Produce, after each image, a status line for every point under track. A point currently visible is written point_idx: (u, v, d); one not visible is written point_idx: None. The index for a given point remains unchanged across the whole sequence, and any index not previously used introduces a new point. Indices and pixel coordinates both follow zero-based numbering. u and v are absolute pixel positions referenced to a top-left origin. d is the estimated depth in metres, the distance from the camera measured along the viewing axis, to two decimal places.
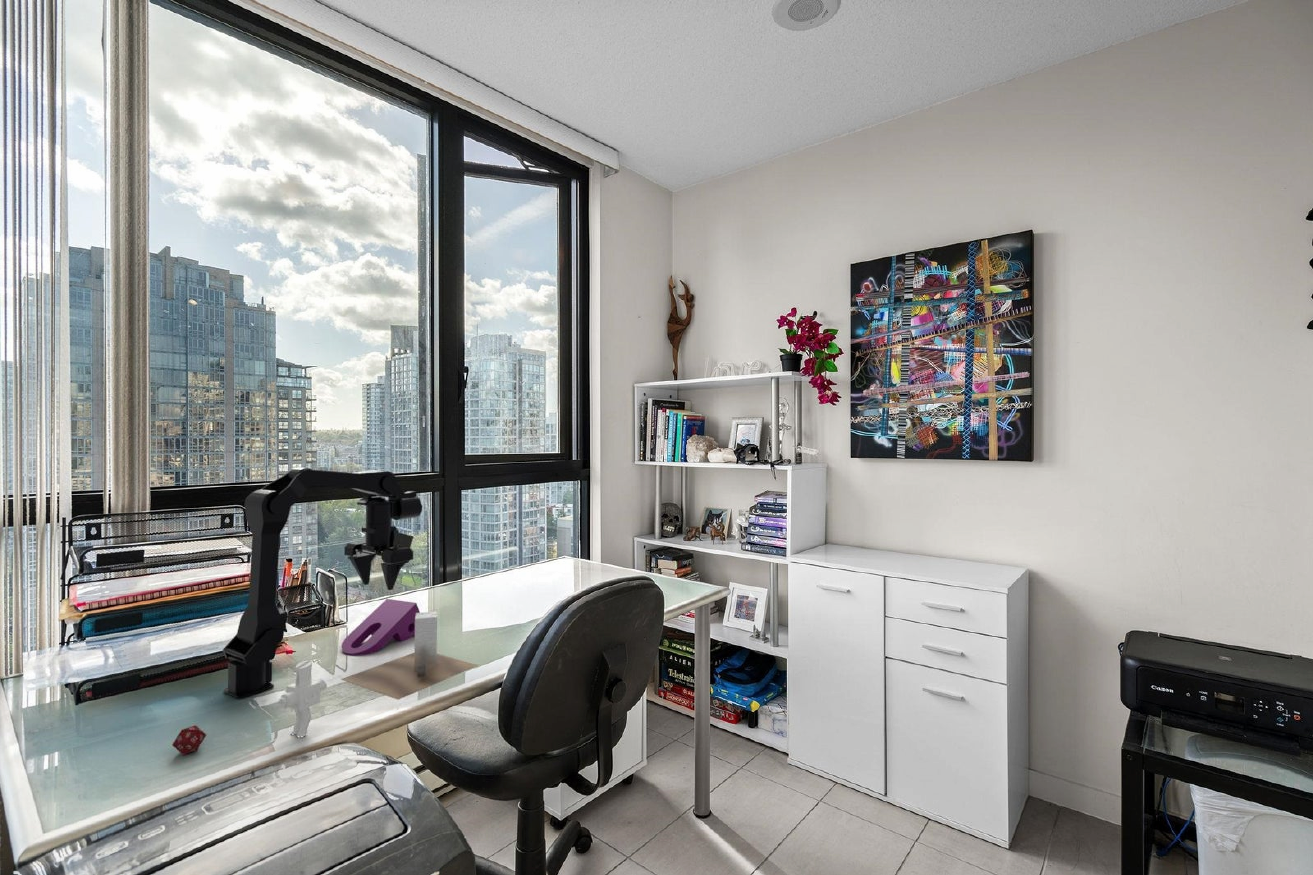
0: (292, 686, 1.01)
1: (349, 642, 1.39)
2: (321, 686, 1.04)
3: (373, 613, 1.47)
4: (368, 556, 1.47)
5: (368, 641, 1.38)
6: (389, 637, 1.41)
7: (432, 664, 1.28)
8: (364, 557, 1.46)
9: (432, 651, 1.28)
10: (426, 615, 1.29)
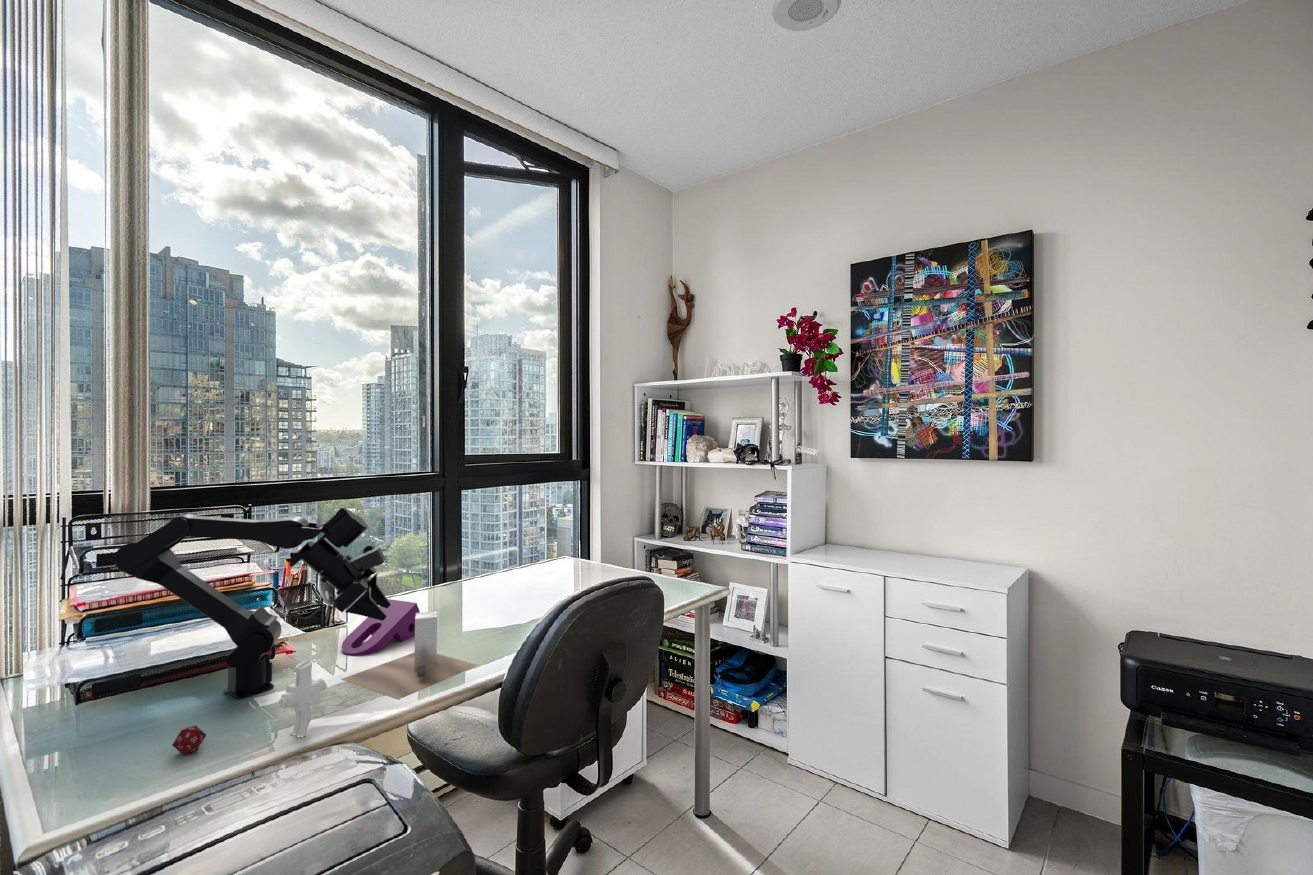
0: (292, 686, 1.01)
1: (349, 642, 1.39)
2: (321, 686, 1.04)
3: None
4: (369, 583, 1.31)
5: (368, 641, 1.38)
6: (389, 637, 1.41)
7: (432, 664, 1.28)
8: None
9: (432, 651, 1.28)
10: (426, 615, 1.29)
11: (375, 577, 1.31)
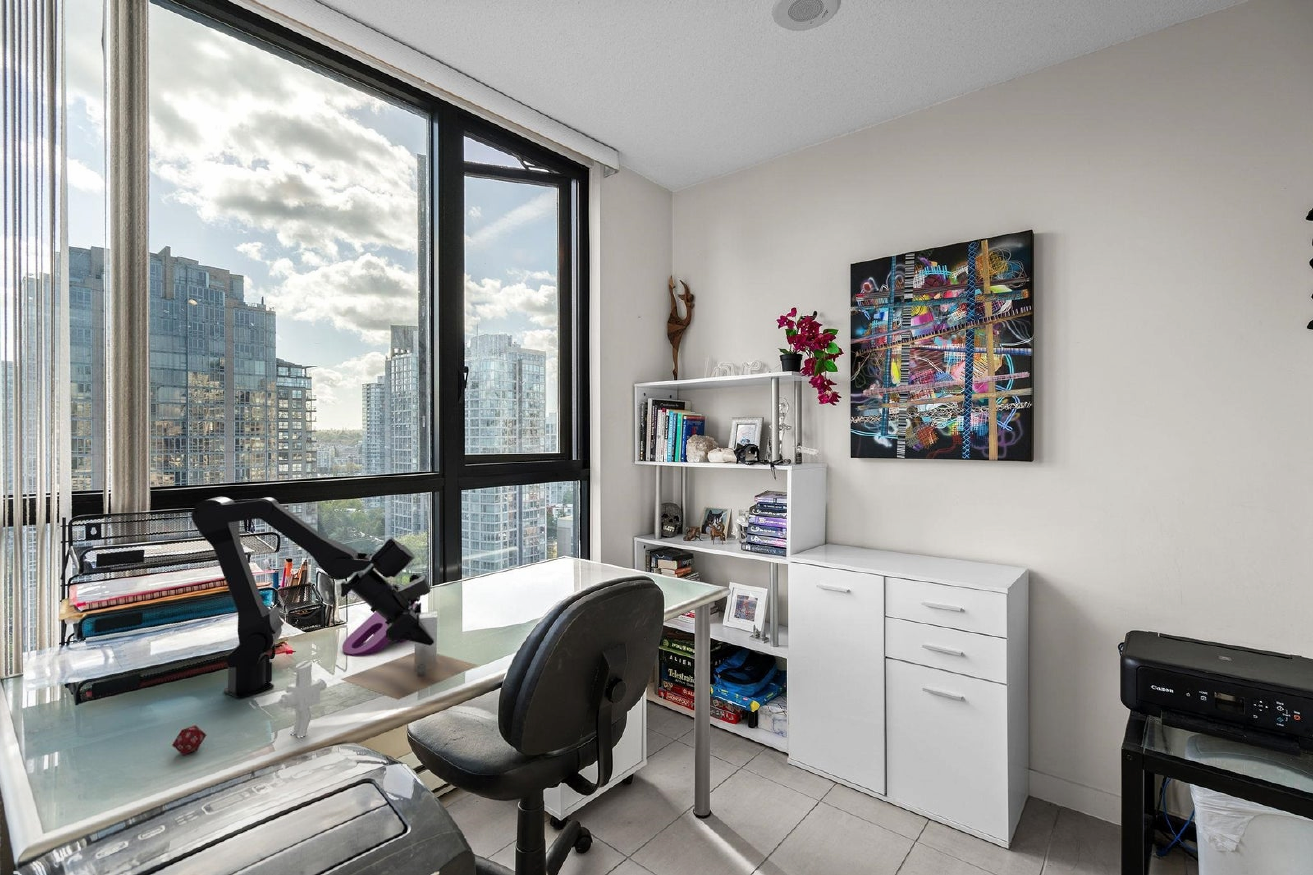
0: (292, 686, 1.01)
1: (350, 642, 1.38)
2: (321, 686, 1.04)
3: (375, 614, 1.47)
4: None
5: (368, 641, 1.38)
6: None
7: (432, 664, 1.28)
8: None
9: (432, 651, 1.28)
10: (426, 615, 1.29)
11: (419, 607, 1.32)
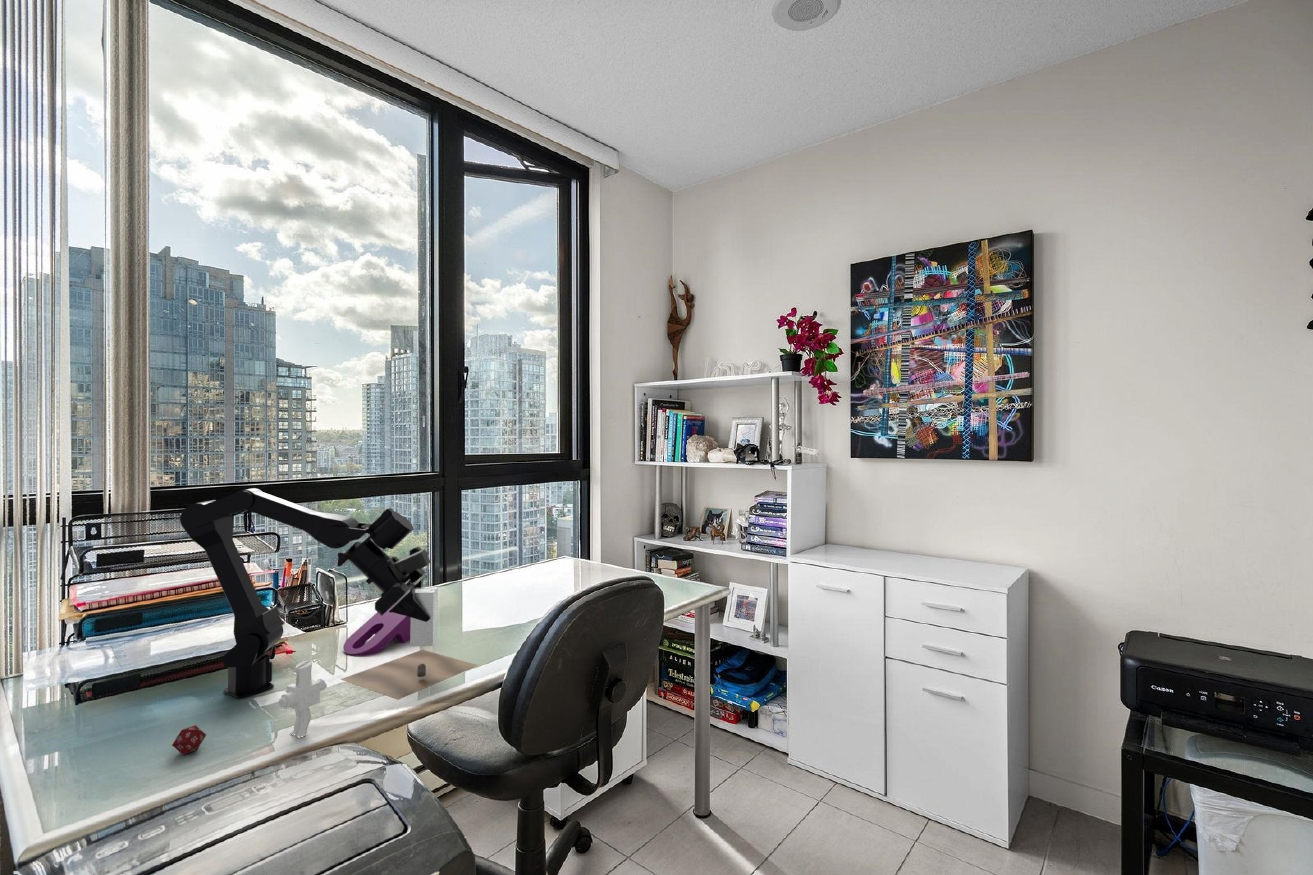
0: (292, 686, 1.01)
1: (351, 643, 1.38)
2: (321, 686, 1.04)
3: (377, 614, 1.47)
4: (414, 588, 1.27)
5: (369, 642, 1.38)
6: (390, 638, 1.40)
7: (428, 642, 1.22)
8: None
9: (428, 628, 1.22)
10: (423, 590, 1.24)
11: (420, 582, 1.27)
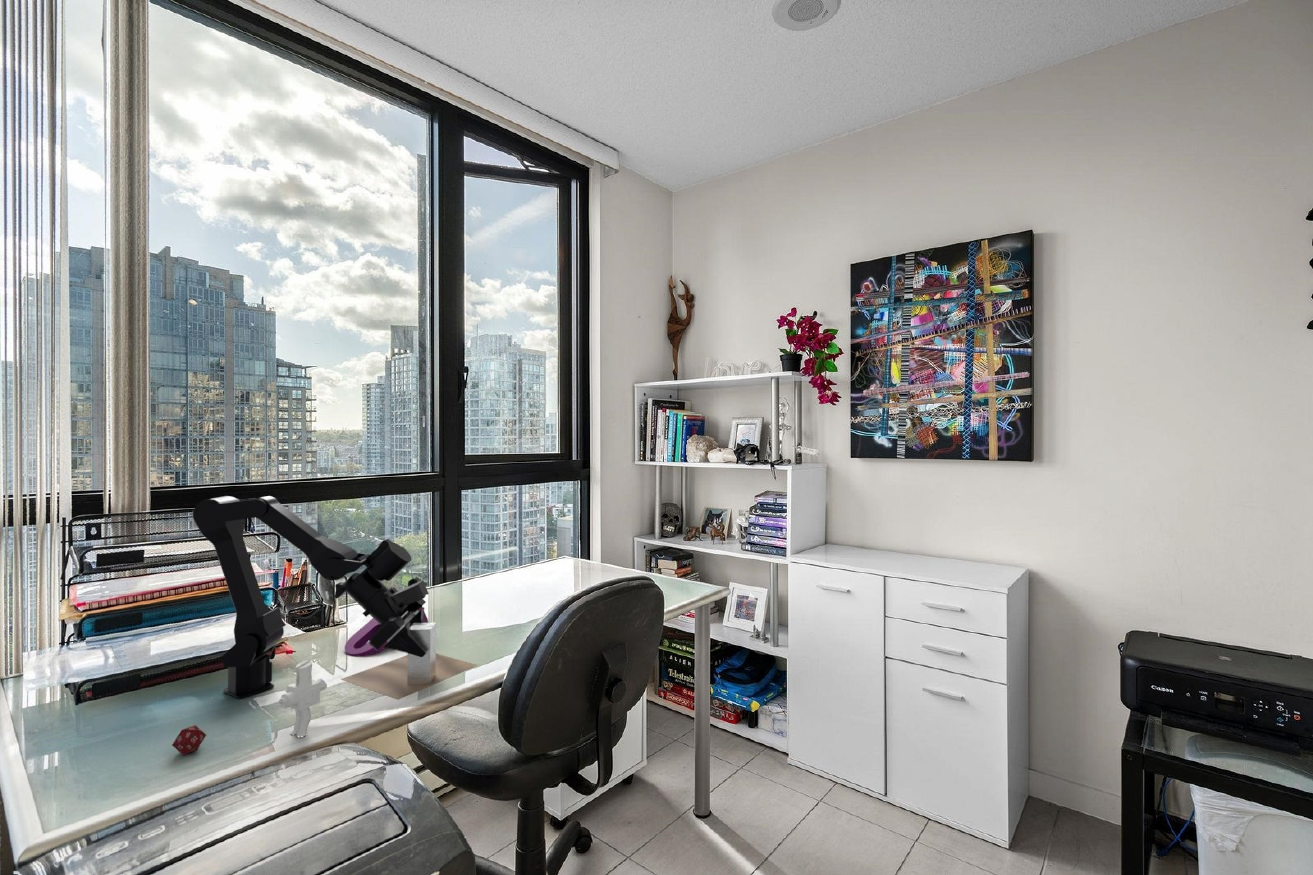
0: (292, 686, 1.01)
1: (352, 643, 1.38)
2: (321, 686, 1.04)
3: None
4: (414, 618, 1.26)
5: None
6: None
7: (425, 679, 1.20)
8: (410, 622, 1.26)
9: (425, 665, 1.20)
10: (421, 627, 1.22)
11: (420, 612, 1.26)
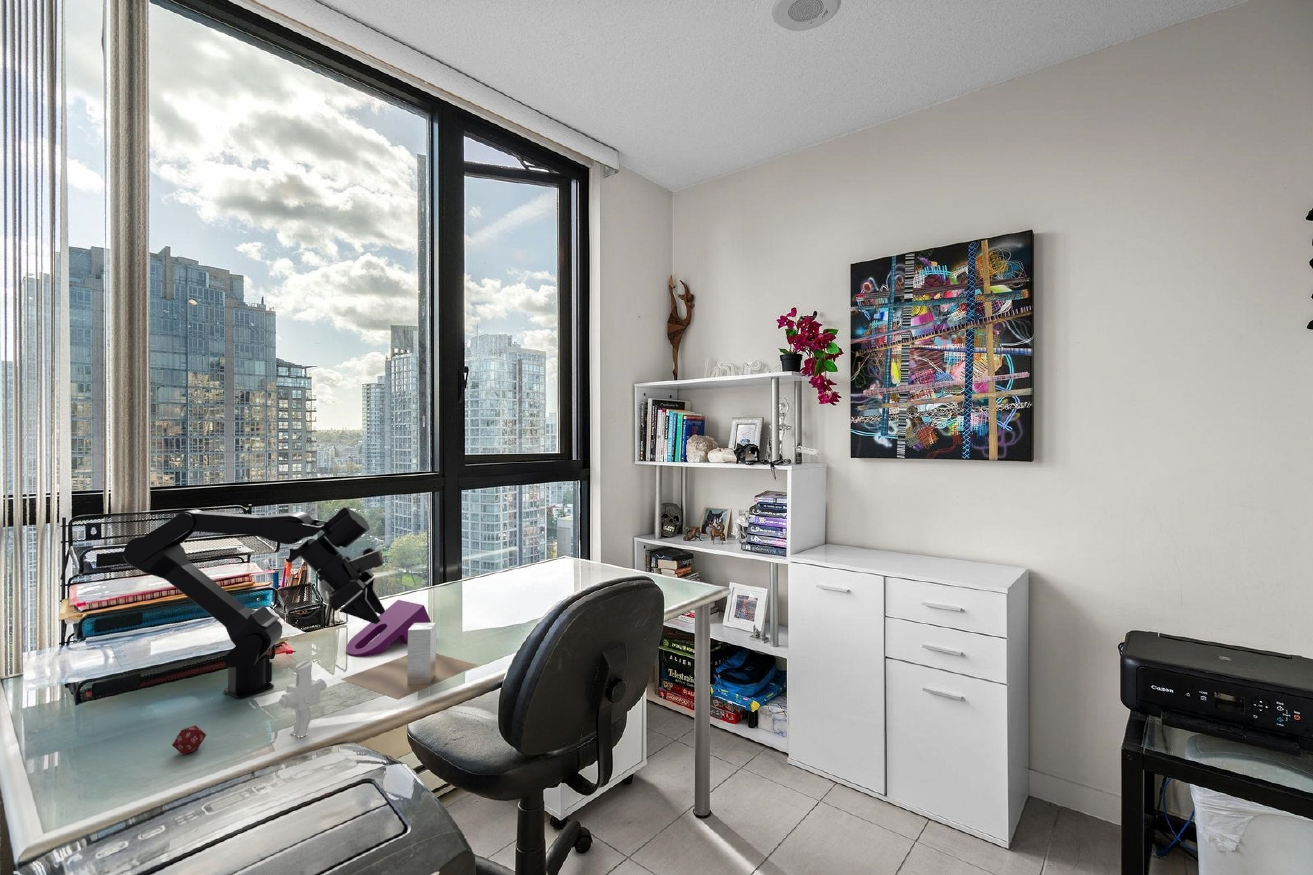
0: (292, 686, 1.01)
1: (354, 643, 1.38)
2: (321, 686, 1.04)
3: (382, 614, 1.47)
4: (365, 587, 1.29)
5: (371, 642, 1.37)
6: (393, 639, 1.39)
7: (425, 679, 1.20)
8: (361, 591, 1.28)
9: (426, 665, 1.20)
10: (421, 627, 1.22)
11: (372, 581, 1.29)
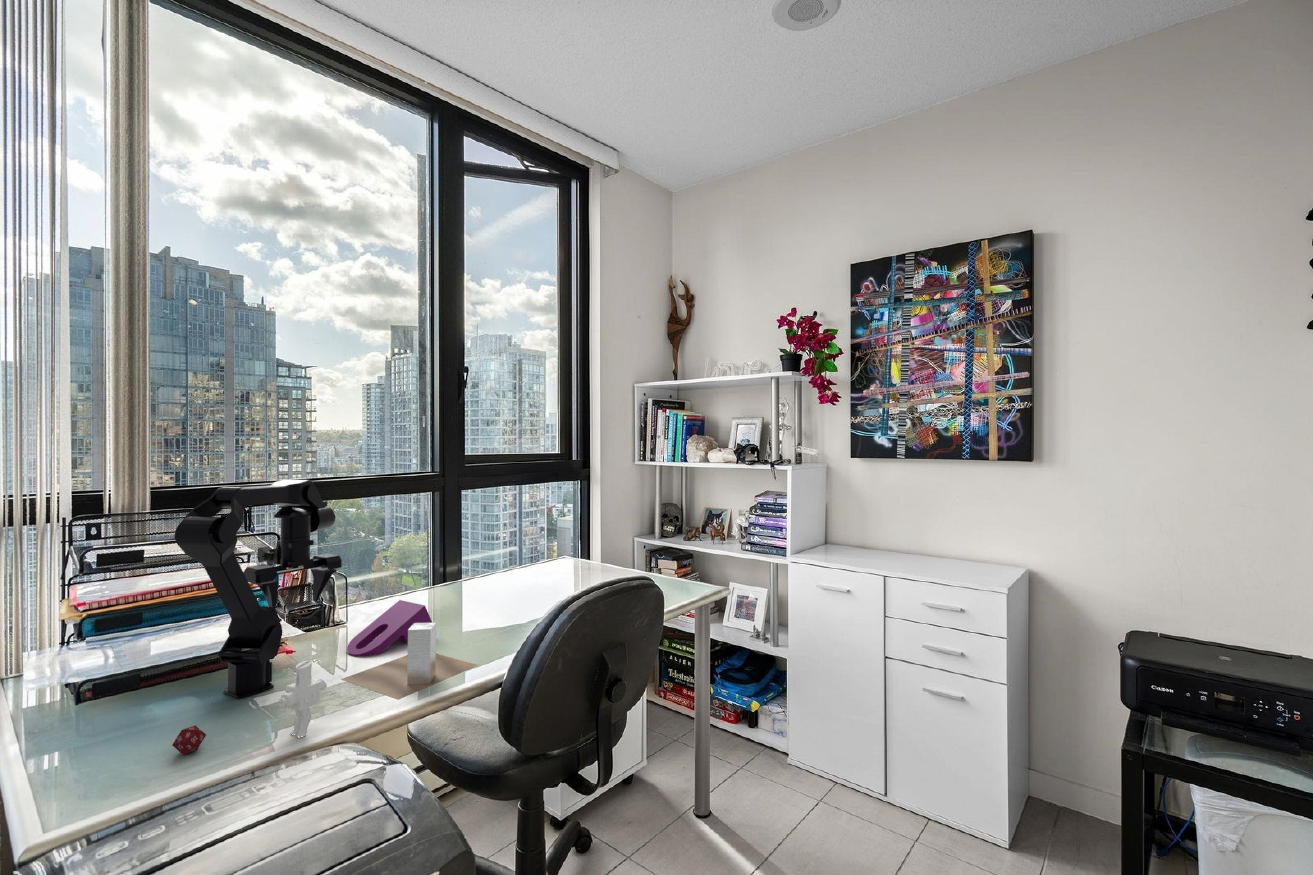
0: (292, 686, 1.01)
1: (355, 643, 1.38)
2: (321, 686, 1.04)
3: (384, 614, 1.47)
4: None
5: (372, 642, 1.37)
6: (393, 639, 1.39)
7: (425, 679, 1.20)
8: None
9: (426, 665, 1.20)
10: (421, 627, 1.22)
11: None
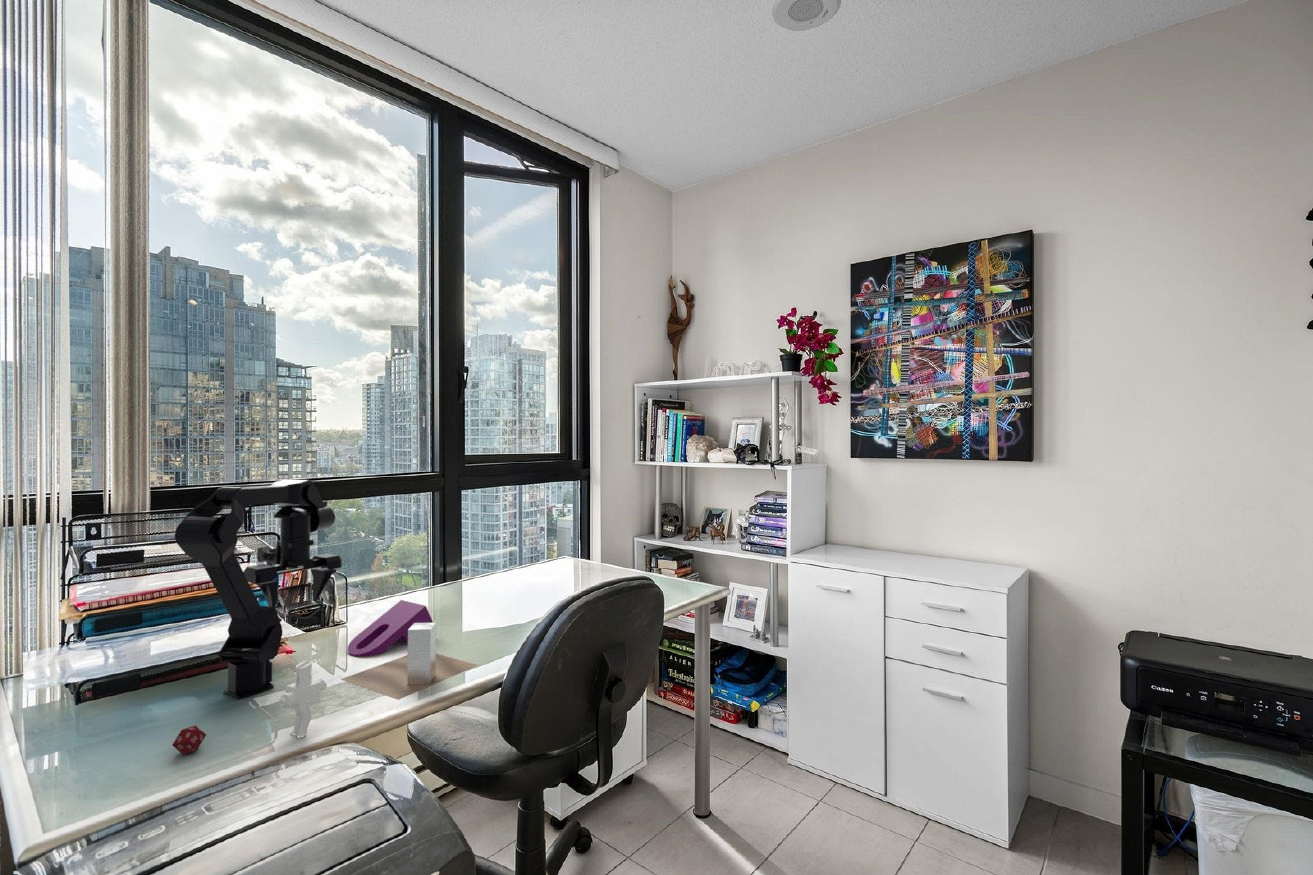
0: (292, 686, 1.01)
1: (355, 643, 1.38)
2: (321, 686, 1.04)
3: (385, 614, 1.47)
4: None
5: (372, 643, 1.37)
6: (394, 640, 1.39)
7: (425, 679, 1.20)
8: None
9: (426, 665, 1.20)
10: (421, 627, 1.22)
11: None
